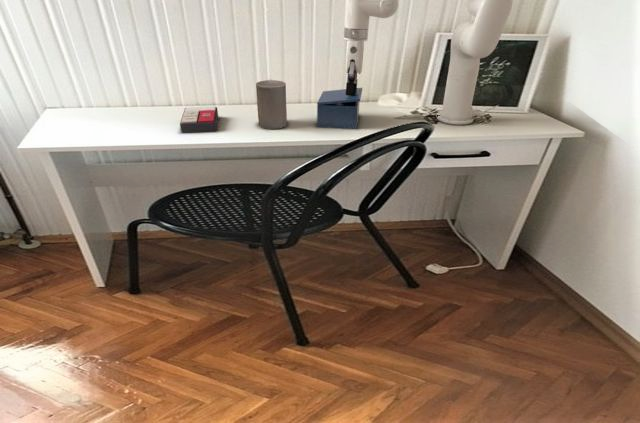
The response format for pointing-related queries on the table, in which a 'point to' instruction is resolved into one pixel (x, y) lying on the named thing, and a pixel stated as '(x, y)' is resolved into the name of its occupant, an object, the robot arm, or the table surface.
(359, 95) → the lid
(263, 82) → the pillar candle
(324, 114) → the case
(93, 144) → the table surface
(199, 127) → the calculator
